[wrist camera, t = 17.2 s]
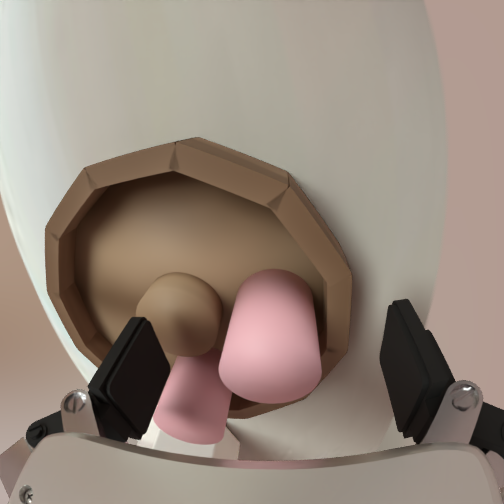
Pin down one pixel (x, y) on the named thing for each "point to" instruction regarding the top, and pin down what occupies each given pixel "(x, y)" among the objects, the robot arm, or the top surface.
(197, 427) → the bead
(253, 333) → the bead
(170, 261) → the tray
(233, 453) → the jar
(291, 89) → the top surface
